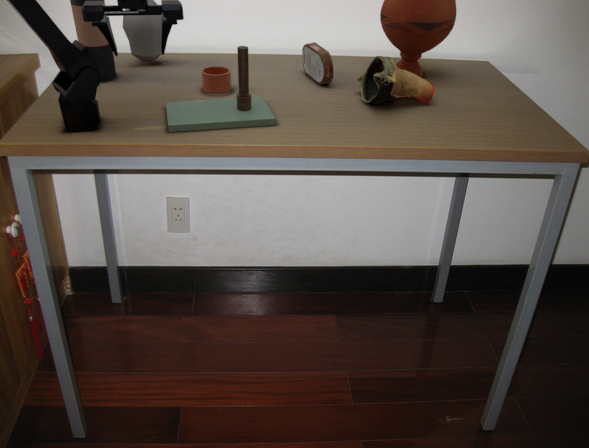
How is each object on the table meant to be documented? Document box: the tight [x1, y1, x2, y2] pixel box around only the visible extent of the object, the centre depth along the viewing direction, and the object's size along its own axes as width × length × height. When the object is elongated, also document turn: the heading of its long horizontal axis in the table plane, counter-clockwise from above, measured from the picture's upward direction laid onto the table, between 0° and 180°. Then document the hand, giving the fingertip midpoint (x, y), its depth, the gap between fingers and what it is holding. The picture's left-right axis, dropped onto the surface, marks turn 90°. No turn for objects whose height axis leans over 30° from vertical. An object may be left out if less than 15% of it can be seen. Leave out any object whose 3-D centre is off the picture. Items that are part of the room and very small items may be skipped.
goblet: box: [379, 0, 457, 78], centre depth 130 cm, size 19×19×25 cm
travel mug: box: [69, 0, 117, 83], centre depth 120 cm, size 8×8×20 cm
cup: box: [200, 65, 233, 95], centre depth 119 cm, size 7×7×5 cm
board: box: [165, 96, 276, 133], centre depth 107 cm, size 22×13×2 cm, turn 104°
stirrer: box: [235, 45, 252, 111], centre depth 104 cm, size 3×3×13 cm
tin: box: [301, 42, 335, 85], centre depth 128 cm, size 15×3×8 cm, turn 22°
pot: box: [356, 55, 435, 105], centre depth 116 cm, size 17×11×18 cm
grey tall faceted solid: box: [122, 0, 162, 65], centre depth 128 cm, size 11×11×30 cm
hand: (140, 55), depth 102 cm, fingers open, 9 cm apart
